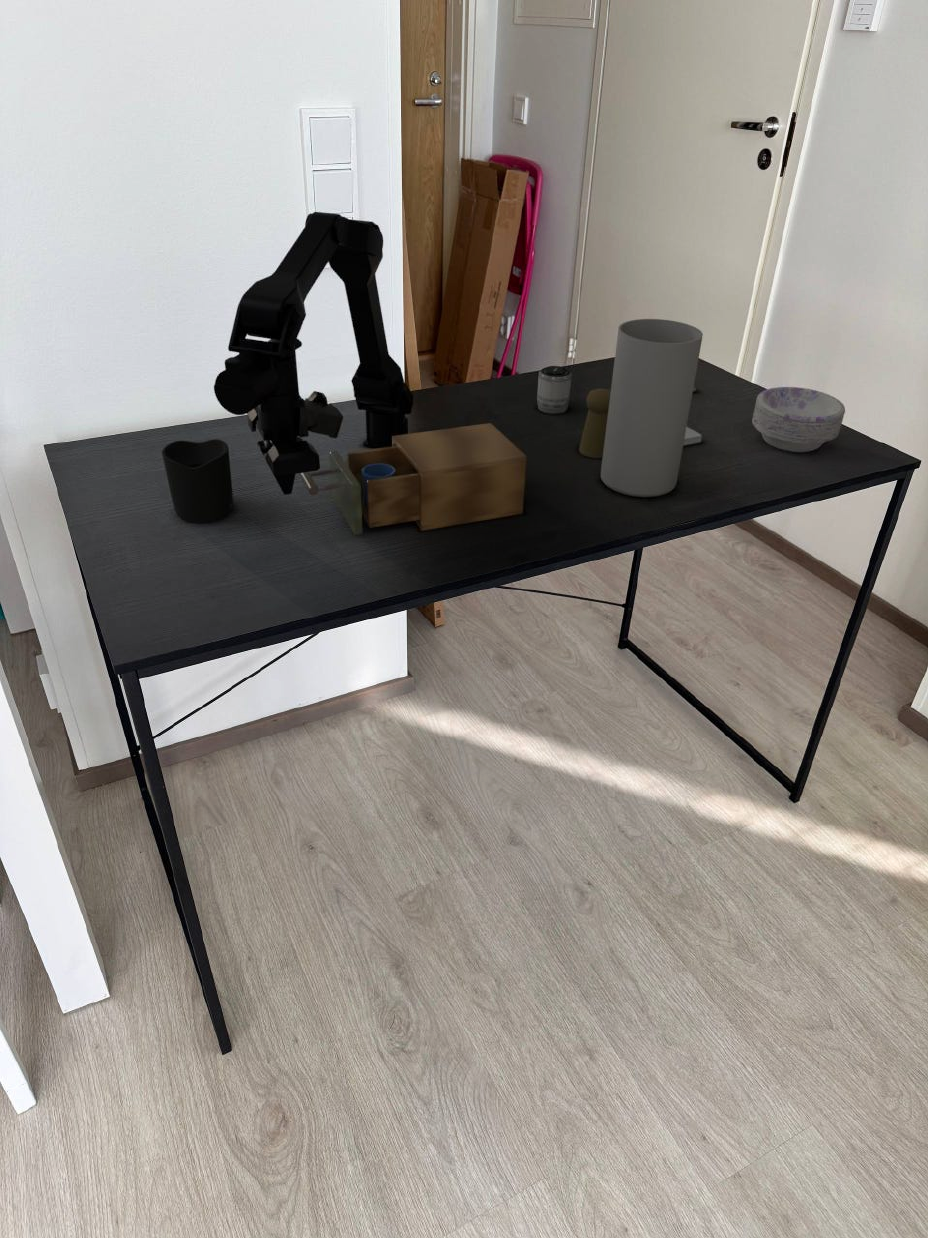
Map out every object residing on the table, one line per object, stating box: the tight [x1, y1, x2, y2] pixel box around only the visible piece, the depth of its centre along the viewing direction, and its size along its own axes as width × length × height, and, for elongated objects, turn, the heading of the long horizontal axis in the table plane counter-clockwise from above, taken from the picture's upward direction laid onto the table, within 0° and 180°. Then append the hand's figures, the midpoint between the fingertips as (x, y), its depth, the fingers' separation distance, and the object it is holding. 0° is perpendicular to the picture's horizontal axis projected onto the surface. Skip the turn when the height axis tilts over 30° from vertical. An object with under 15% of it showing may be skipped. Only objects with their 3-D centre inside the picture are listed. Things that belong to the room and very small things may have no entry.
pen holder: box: [161, 438, 234, 524], centre depth 134 cm, size 9×9×10 cm
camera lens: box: [536, 365, 572, 415], centre depth 173 cm, size 6×6×8 cm
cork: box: [578, 388, 611, 459], centre depth 156 cm, size 6×6×11 cm
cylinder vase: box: [600, 318, 704, 498], centre depth 142 cm, size 12×12×25 cm
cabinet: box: [392, 422, 527, 532], centre depth 139 cm, size 17×14×10 cm
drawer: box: [298, 446, 420, 536], centre depth 134 cm, size 21×12×8 cm, turn 112°
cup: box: [362, 463, 396, 509], centre depth 135 cm, size 5×5×6 cm
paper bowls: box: [751, 386, 846, 453], centre depth 162 cm, size 15×15×8 cm
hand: (287, 493), depth 130 cm, fingers closed
